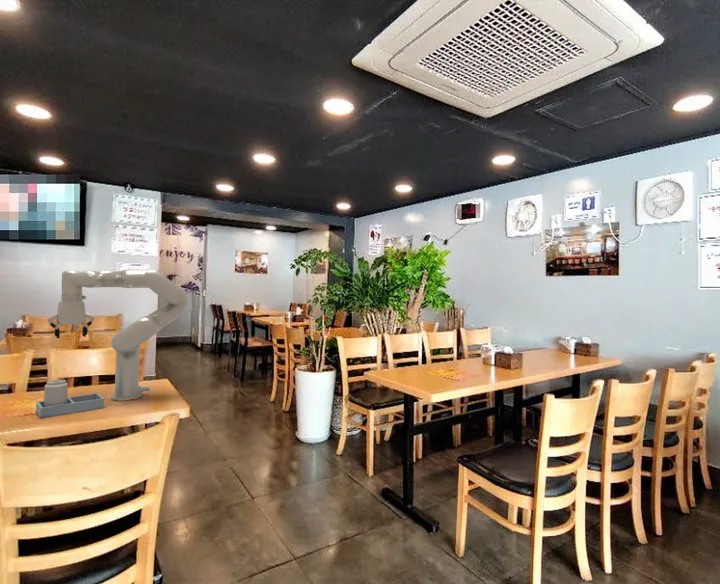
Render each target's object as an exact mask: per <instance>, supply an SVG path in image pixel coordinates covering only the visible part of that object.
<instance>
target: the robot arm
mask: <svg viewBox="0 0 720 584" xmlns="http://www.w3.org/2000/svg"><path fill="white" fill-rule="evenodd" d="M83 288H88V289H92V288H94V289H95V288H96V289H97V288H124V289H150V290H151V291H152V292H153V293H155V295H157V296H158V297H160V298H161V299H162V300H163V301H165V302H166V303H165V304H163V305H162V306H160V307H159V308H157V309H155V310H154V311H153V312H151V313H149V314H147V315H145V316H142V317H140V318H139V319H137V320H136V321H134V322H132V323H131V324H128V326H126V327H125V328H123V329H122V330H120V331H118V332H117V333H115V334H114V335H113V337H112V338H111V343H110V344H111V347H112V349H113V350H114V351H115V353H116V354H115V371H114V372H115V373H114V374H115V375H114V377H115V378H114V394H111V396H110V399H111V400H112V401H115V400H116V401H115V402H122V401H123V402H124V401H126V400H127V401H132V400H131V399H133V400H137V399H139V397H140V398H141V396H142V397H143V392H148V391H151V387H150V386H140V383H139V382H140V380H139V379H140V353H141V345H142V344H143V343H144V342H147V341H148V340H150V339H151V338H152V337H153V336H155V335H156V334H157V333H158V332H160V331H161V330H162V329H164V327H165V328H166V326H168V325H169V324H170V323H172V322H173V321H175V320H176V319H177V318H178V317H180V316H181V315H182V314H183V312H184V311H185V309H186V306H187V301H188V296H187V292H186V290H185V289H184V287H182V286H179V285H177V284H175V283H174V282H173V281H172V280H170V279H169V278H168V277H167V276H166V275H165V273H164V271H162V270H160V269H155V268H153V269H152V268H151V269H122V270H115V271H114V270H111V271H97V270H86V271H80V270H79V271H78V270H64V271H62V273H61V297H60V298H61V301H58V303H57V304H58V305H57V311H56V312H57V313H56V315H53V316H51V317H49V318H47V319H46V321H47V322H48V324H49V325H50V326H51V327H52V328H53V329H54V337H56V339H60V334H61V329H60V327H61V326H62V325H82V331H81V332H82V337H84V338H85V337H87V335H88V328H89V327H90V326H91V325H92V324H93V323H94V321H95V317H93V316H91V315H90V314H86V306H85V301H83V300H86V299H87V296H86V295H83ZM86 319H88V320H89V321H87V322H86ZM54 320H56V324H55V323H54ZM136 398H137V399H136ZM127 401H126V402H127Z"/></svg>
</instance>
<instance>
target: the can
mask: <svg viewBox="0 0 720 584" xmlns="http://www.w3.org/2000/svg"><path fill="white" fill-rule="evenodd" d="M67 397H68V383H67V380H66V379H52V380H48V381H46V384H45V385H44V398H43V399H44V400H43V401H44V407H49V406H56V405H62V404H67Z"/></svg>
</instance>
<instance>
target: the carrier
mask: <svg viewBox="0 0 720 584" xmlns="http://www.w3.org/2000/svg"><path fill="white" fill-rule="evenodd" d="M100 409H101V410H102V409H105V398H104V396H102V395H100V394H99V393H98V392H95V393H89V394H81V395H75V396H69V397H68V396H67V404H62V405H56V406H49V407H44V400H40V401H36V402H35V412H37V413H36V414H37V415H38V417H39V419H46V417H47V418H52V416H53V417H57V416H65V415H70V414H76V413H81V412H83V413H84V412H88V411H94V410H100Z"/></svg>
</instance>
